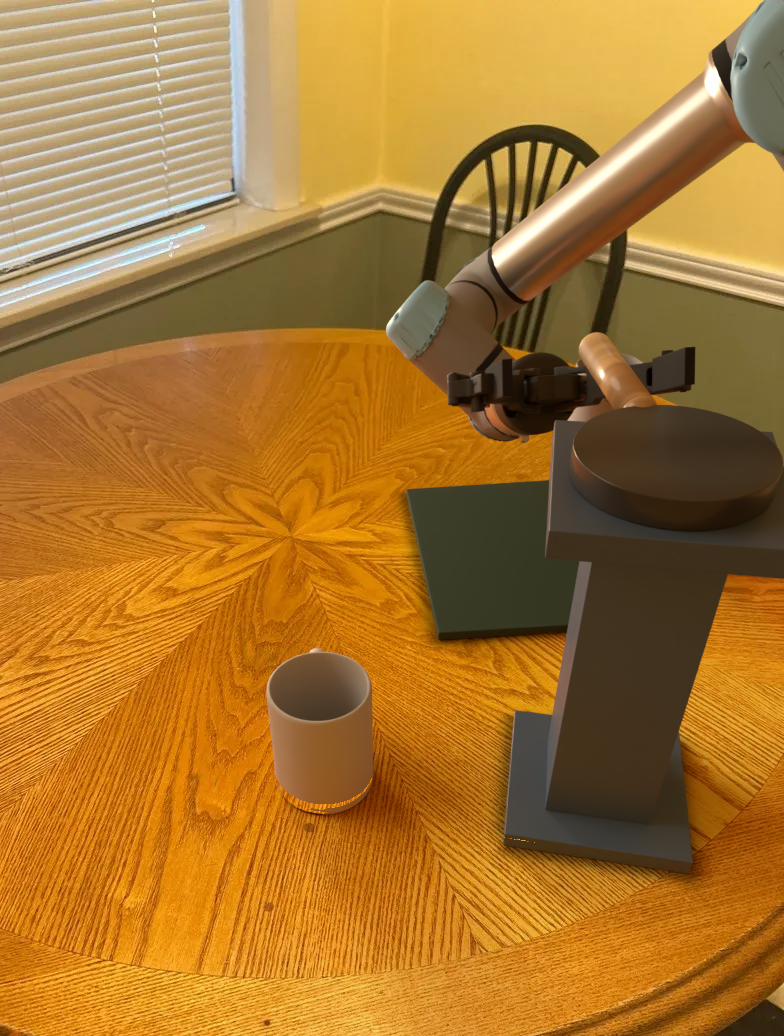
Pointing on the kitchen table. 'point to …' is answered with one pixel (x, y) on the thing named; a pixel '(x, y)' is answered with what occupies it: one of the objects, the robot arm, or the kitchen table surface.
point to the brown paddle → (667, 456)
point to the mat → (490, 560)
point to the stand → (625, 677)
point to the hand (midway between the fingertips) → (598, 371)
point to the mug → (322, 728)
